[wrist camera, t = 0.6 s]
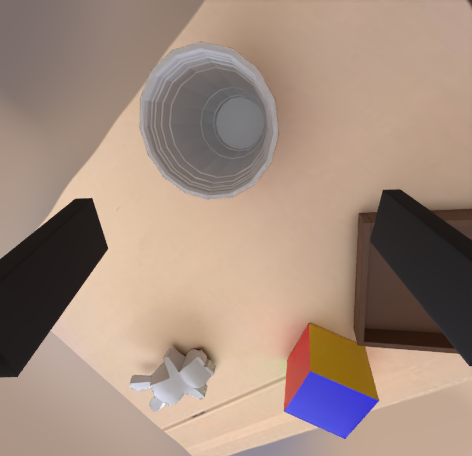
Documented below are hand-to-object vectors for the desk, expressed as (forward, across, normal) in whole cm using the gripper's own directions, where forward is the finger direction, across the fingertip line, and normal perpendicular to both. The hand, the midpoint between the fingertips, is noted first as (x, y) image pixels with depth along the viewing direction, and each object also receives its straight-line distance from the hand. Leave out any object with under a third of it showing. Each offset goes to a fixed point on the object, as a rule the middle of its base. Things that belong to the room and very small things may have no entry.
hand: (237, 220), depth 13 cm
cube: (+14, +12, -30) cm, 35 cm away
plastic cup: (+21, 0, +1) cm, 21 cm away
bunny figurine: (+18, -11, -38) cm, 44 cm away
